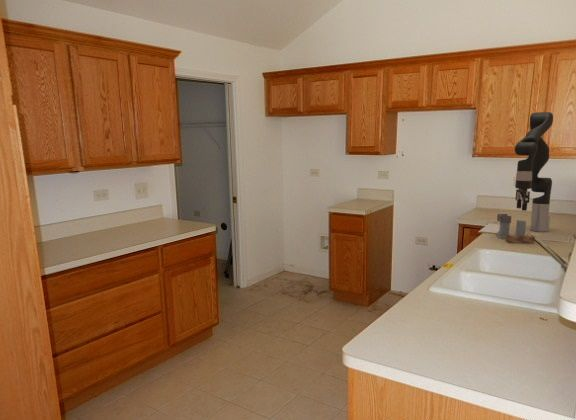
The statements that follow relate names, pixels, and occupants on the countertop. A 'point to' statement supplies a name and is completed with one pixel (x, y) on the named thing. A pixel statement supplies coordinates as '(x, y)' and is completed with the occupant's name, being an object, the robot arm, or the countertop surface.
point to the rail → (520, 239)
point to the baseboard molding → (490, 229)
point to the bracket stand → (505, 224)
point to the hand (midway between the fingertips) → (521, 209)
